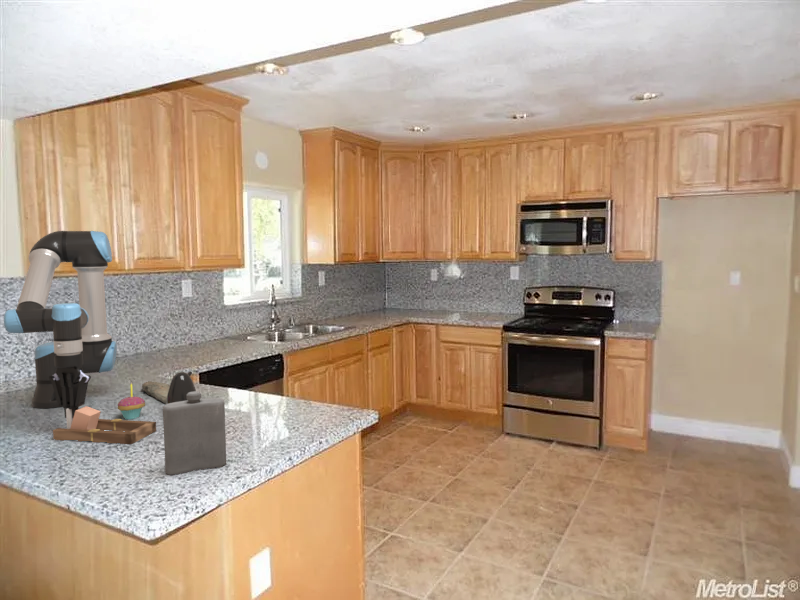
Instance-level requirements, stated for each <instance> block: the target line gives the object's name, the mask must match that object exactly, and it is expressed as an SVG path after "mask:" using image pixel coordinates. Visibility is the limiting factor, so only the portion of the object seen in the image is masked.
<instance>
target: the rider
mask: <svg viewBox="0 0 800 600" xmlns="http://www.w3.org/2000/svg"><path fill="white" fill-rule="evenodd" d="M100 417H101V410H98V409H95V408H93V407H89V406H88V405H85V406H84V407H81V408H79V409H78V410H76V411H75V414H74V417H73V421H72V425H71V428H70V429H85V430H92V429H96V427H97V423H98V420H99V419H100Z"/></svg>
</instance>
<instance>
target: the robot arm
mask: <svg viewBox="0 0 800 600" xmlns="http://www.w3.org/2000/svg"><path fill="white" fill-rule="evenodd" d="M112 253H113V252H112V247H111V243H110V239H109V237H108V234H106V233H105V232H103V231H98V230H97V231H96V230H56V231H53V232H50V233H48V234H46V235H44V236H42V237H41V238H40V239H39V240H37V241H36V243H34V245H33V246H32V247H31V248H30V252H29V254H28V262H29V263H30V264H29V265H28V269H27V273H26V276H25V279H24V283H23V286H22V289H21V293H20V295H19V298H18V303H17V306H16V308H13V309H8V310H6V311H5V312H4V315H3V325H4V328H5V331H6V332H7V333H9V334H31V333H49V332H52V335H53V341H50V342H46V343H42V344H39V345H37V346H36V347H35V349H34V364H35V365H34V366H35V367H34V368H35V378H36V387H35V389H34V393H33V397H32V398H31V406H32V408H35V409H51V408H52V409H54V408H60V407H62V408H63V409H64V418H65V419H66V429H70V428H71V425H72V421H73V417H74V414H75V411H76V410H78V409H80V408H79V407H81V406H84V405H85V403H86V398H87V392H88V386H89V382H90V380H91V378H92V377H91V375H87V374H96V373H97V374H101V373H106V372H107V373H108V372H111V371H112V370H113V369H114V367H115V365H116V358H117V352H118V351H117V350H118V349H117V348H118V345H117V344H118V343H117V342H116V341H115V340H113V338H112V337H113V336H112V335H110V334H109V333H108V330H107V329H108V327H107V313H106V312H107V310H106V293H105V291H106V290H105V275H104V272H105V271H106V269H108V267H109V265H108V263H111V262H112V261H113V256H112V255H113V254H112ZM61 263H71V266H72V269H74V270H75V271H76V272H77V285H78V286H77V287H78V303H76V302H75V303H73V302H72V303H71V302H70V303H69V302H67V303H56V304H54V305H52V307H51V308H49V307H47V303H48V299H49V296H50V291H51V287H52V283H53V279H54V276H55V272H56V269H57V268H58V267H59V266H60V264H61ZM46 307H47V308H46Z"/></svg>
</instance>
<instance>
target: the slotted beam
mask: <svg viewBox="0 0 800 600" xmlns="http://www.w3.org/2000/svg"><path fill="white" fill-rule="evenodd" d="M104 430H112V431H104ZM123 431H125V432H123ZM155 432H157V421H148V420H147V421H146V420H132V419H121V418H113V419H111V418H110V419H109V418H108V419H107V418H99V420H98V423H97V427H96V429H92V430H85V429H67V427H66V428H63V427H58V428H55V429H53V430H52V436H53V438H52V439H55V440H54V441H64V440H78V441H77V442H82V441H92V442H91V443H100V442H107V443H106V444H117V443H120V444H121V445H133V444H135V443H137V442H138V441H141V440H143V439H144V438H147V437H148V436H150V435H151V434H153V433H155ZM140 439H141V440H140Z"/></svg>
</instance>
